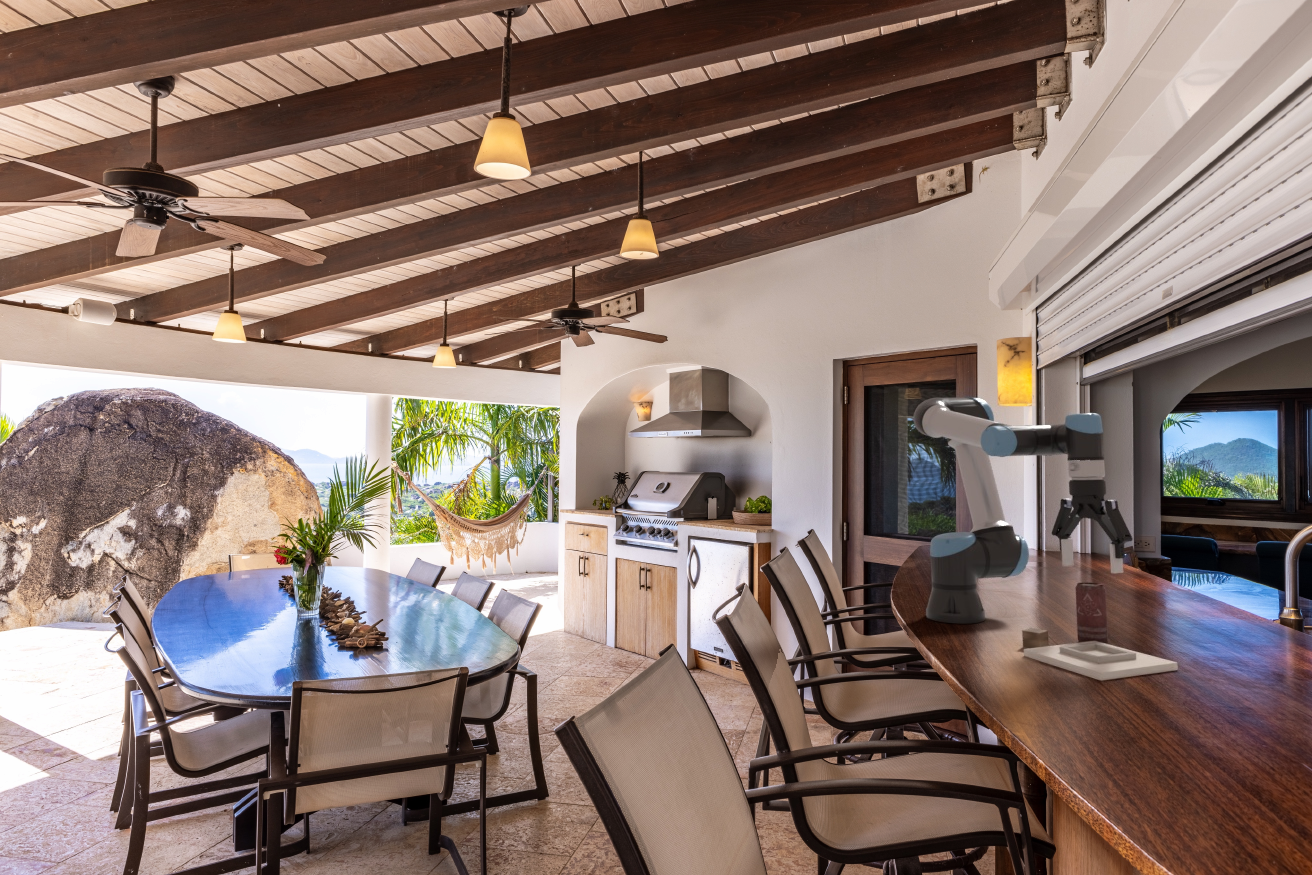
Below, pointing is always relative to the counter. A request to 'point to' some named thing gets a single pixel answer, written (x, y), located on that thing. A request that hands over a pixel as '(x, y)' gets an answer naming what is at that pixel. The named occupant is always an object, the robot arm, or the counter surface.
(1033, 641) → the walnut block
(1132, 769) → the counter surface
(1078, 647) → the board
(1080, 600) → the can
